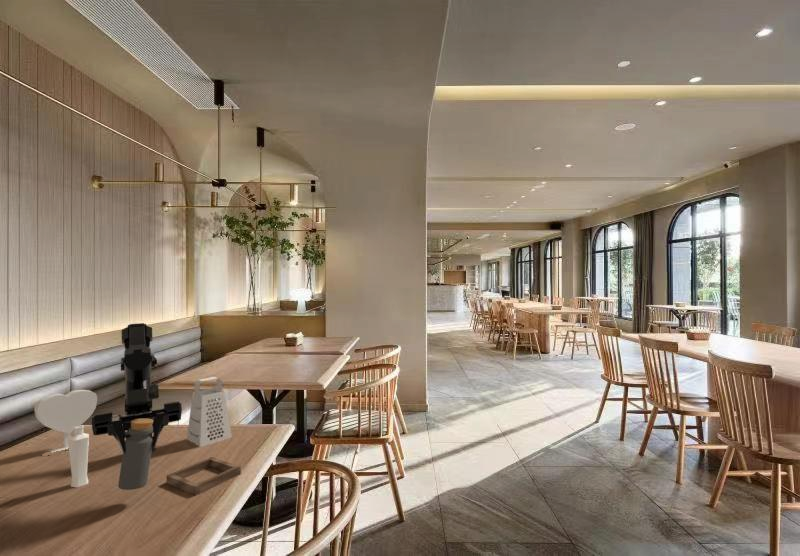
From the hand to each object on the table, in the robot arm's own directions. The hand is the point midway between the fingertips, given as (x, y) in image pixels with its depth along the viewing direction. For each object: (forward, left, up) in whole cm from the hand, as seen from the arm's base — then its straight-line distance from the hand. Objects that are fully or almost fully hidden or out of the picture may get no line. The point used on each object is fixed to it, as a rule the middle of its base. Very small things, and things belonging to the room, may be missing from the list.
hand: (139, 449), depth 99 cm
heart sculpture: (-47, +34, -13) cm, 59 cm away
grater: (-4, +41, -13) cm, 43 cm away
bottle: (-2, 0, -9) cm, 9 cm away
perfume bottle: (-23, +10, -13) cm, 28 cm away
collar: (+9, +12, -13) cm, 20 cm away
